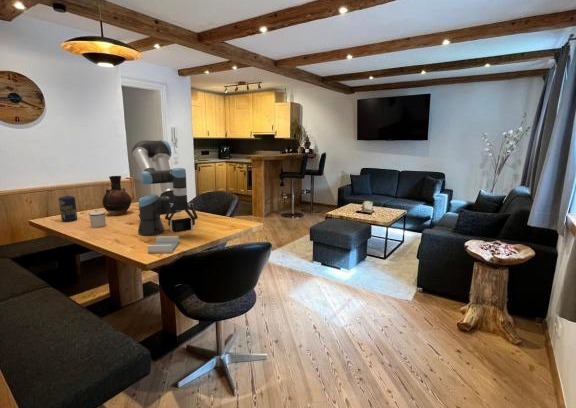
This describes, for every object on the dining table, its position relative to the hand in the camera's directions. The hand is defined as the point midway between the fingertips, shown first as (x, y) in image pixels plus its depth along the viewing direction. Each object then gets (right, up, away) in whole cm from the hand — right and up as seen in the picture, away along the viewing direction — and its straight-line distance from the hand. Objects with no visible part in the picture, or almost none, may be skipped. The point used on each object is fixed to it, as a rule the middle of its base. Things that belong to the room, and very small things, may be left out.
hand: (182, 230), depth 190 cm
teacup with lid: (-65, +1, +23) cm, 70 cm away
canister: (-93, +4, +36) cm, 100 cm away
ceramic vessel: (-69, +8, +57) cm, 89 cm away
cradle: (-4, -8, -18) cm, 20 cm away
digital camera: (0, 0, +1) cm, 1 cm away
